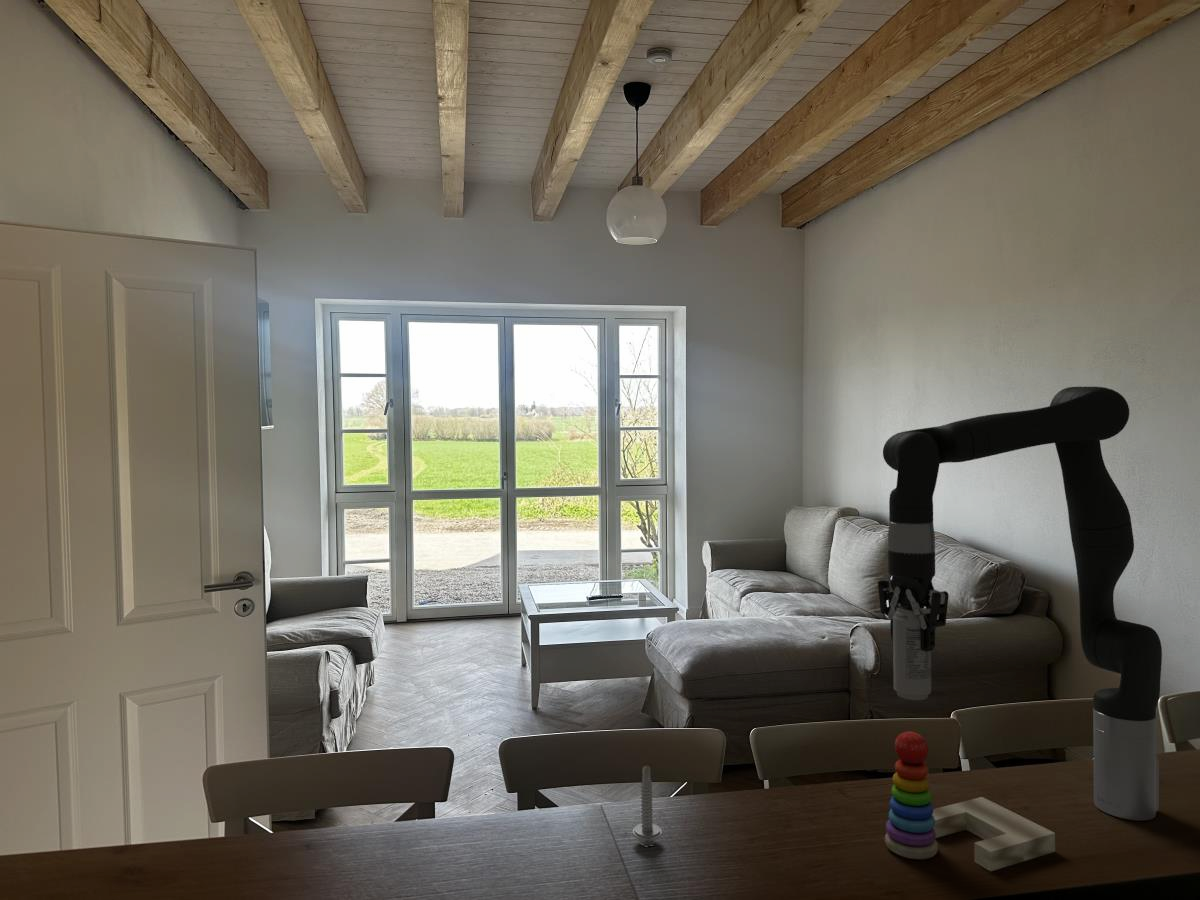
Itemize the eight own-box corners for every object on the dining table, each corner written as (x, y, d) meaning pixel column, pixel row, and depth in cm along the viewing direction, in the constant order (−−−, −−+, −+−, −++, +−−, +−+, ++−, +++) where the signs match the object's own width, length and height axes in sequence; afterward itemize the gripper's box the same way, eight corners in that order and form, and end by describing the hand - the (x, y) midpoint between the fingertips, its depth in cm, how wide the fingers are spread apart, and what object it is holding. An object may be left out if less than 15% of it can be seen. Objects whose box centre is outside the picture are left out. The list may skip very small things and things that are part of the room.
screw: (665, 838, 132) (657, 853, 128) (637, 834, 134) (628, 848, 129) (664, 761, 132) (656, 773, 127) (636, 757, 134) (627, 769, 129)
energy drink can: (919, 688, 140) (918, 603, 139) (938, 700, 134) (937, 611, 133) (887, 690, 139) (886, 605, 139) (905, 702, 133) (904, 613, 133)
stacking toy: (943, 864, 123) (942, 744, 123) (888, 859, 125) (887, 741, 124) (932, 838, 131) (931, 726, 131) (881, 834, 133) (880, 723, 132)
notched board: (982, 813, 139) (981, 796, 139) (1055, 851, 126) (1054, 833, 126) (920, 830, 134) (920, 812, 134) (990, 871, 121) (990, 851, 121)
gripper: (961, 552, 131) (962, 653, 131) (897, 541, 144) (898, 634, 144) (927, 555, 128) (928, 659, 128) (864, 544, 141) (865, 638, 141)
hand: (912, 645), depth 136 cm, fingers closed on energy drink can, 6 cm apart
